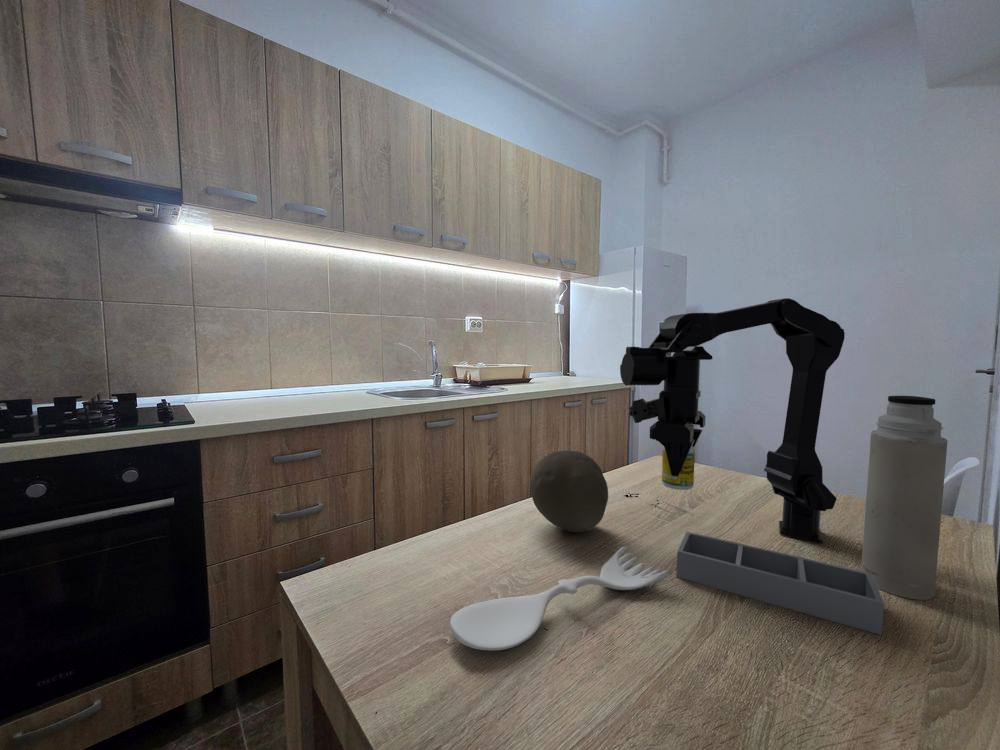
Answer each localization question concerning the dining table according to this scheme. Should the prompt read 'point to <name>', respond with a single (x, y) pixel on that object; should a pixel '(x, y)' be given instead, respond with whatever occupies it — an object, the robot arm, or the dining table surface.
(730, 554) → the slot holder
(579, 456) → the brown coconut
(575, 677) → the dining table surface
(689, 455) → the supplement bottle
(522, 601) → the spoon
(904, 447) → the thermos bottle
